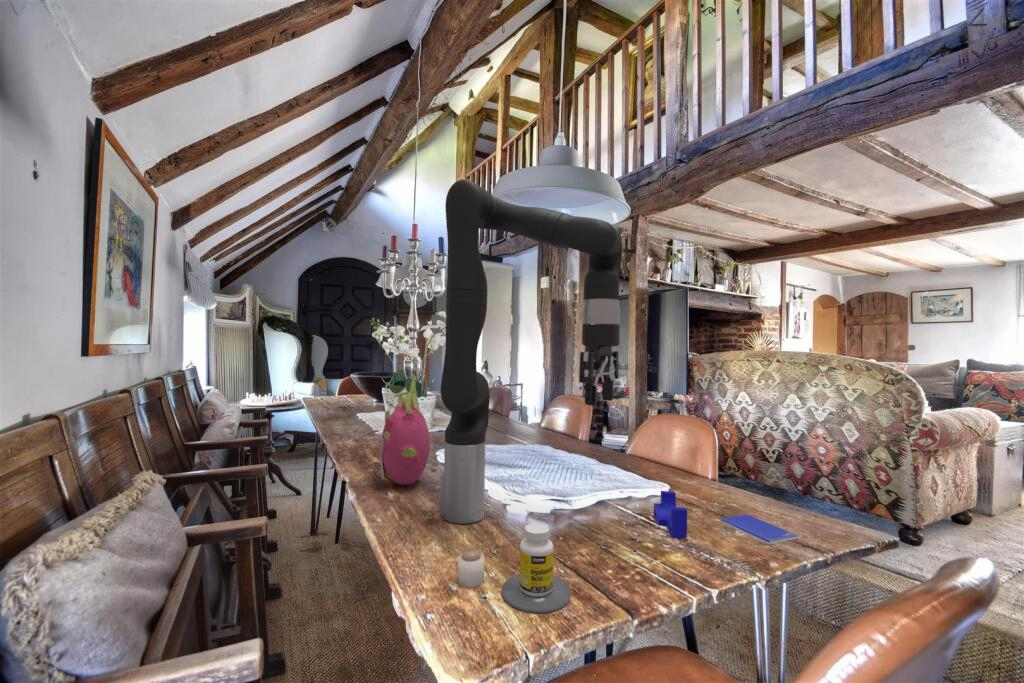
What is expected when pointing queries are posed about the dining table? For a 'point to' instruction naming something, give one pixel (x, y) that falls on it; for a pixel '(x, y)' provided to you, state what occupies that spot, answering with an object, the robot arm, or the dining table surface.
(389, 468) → the pink dragon fruit
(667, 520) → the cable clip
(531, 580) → the supplement bottle
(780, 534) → the hard drive
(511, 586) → the slate coaster
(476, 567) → the salt cellar
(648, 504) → the dining table surface
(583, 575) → the dining table surface
